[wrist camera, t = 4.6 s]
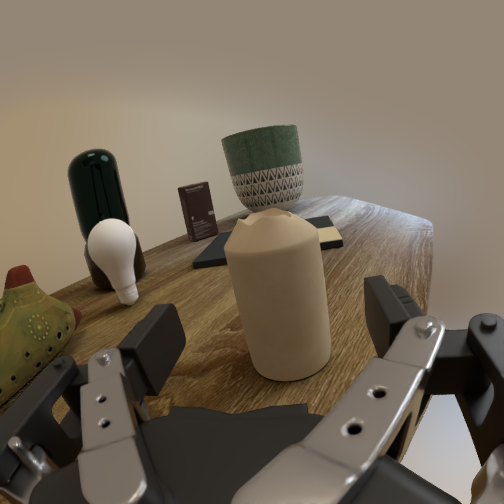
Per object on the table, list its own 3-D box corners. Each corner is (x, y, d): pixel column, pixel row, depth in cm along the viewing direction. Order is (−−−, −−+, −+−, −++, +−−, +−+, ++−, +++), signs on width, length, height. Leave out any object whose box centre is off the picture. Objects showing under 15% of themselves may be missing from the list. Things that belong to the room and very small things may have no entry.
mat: (328, 220, 57) (327, 215, 57) (343, 246, 40) (342, 238, 40) (221, 237, 61) (220, 232, 61) (193, 268, 44) (191, 262, 44)
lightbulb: (123, 296, 38) (99, 219, 35) (161, 292, 37) (137, 209, 34) (101, 317, 32) (71, 230, 29) (141, 314, 31) (111, 219, 28)
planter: (224, 225, 74) (206, 142, 68) (258, 209, 90) (244, 140, 84) (298, 218, 64) (279, 122, 58) (319, 202, 80) (305, 127, 75)
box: (195, 242, 62) (182, 186, 59) (188, 239, 66) (176, 188, 63) (220, 233, 65) (208, 180, 62) (212, 232, 69) (200, 182, 66)
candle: (340, 371, 17) (325, 209, 14) (253, 389, 17) (213, 232, 14) (321, 328, 22) (303, 198, 19) (252, 342, 22) (221, 214, 19)
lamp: (92, 285, 46) (60, 164, 40) (138, 267, 52) (109, 150, 46) (101, 298, 39) (62, 151, 33) (156, 275, 44) (122, 137, 39)
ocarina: (-20, 447, 10) (-91, 333, 7) (-38, 426, 11) (-95, 327, 9) (102, 329, 29) (71, 243, 26) (73, 328, 30) (44, 250, 27)
